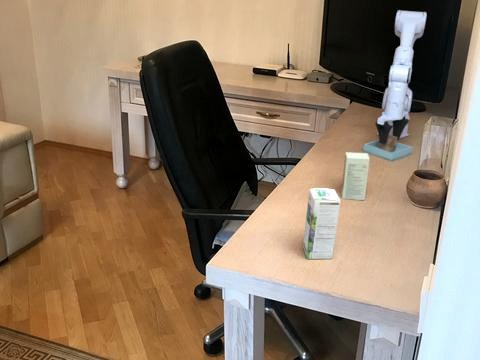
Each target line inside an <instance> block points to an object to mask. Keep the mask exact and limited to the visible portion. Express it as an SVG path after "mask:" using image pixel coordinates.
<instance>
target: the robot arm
mask: <svg viewBox="0 0 480 360" xmlns="http://www.w3.org/2000/svg"><path fill="white" fill-rule="evenodd" d="M395 15H396V16H395V20H394V21H395V22H394V34H395V35H396V36H397V37H399V39H400V40H399V41H400V45H399V46H398V47H397V48H395V52H394V56H393V62H392V65H390V69H389V74H388V86H387V87H386V88H385V90H384V94H383V98H382V104H381V108H382V110H383V112H381V116H379V117H377V121H375V125H374V126H375V127H376V130H377V133H376V134H377V135H378V140H379V143H381V144H384V145H385V144H386V142H387V139H388V135H392V136H395V137H397V141H399V140H400V139H402V138H405V137H408V136H410V134H409V133H408V130H409V129H408V128H409V123H410V114H409V113H410V112H411V105H412V99H413V90H411V89H410V87H409V83H411V76H412V72H413V67H412V66H413V58H414V53H415V51H414V49H413V47H414V43H415V41H416V40H417V39H419V38H421V37H422V36H423V35H424V32H425V31H424V30H425V28H426V27H425V26H426V21H427V17H428V16H427V12H426V11H411V10H410V11H409V10H401V9H399V10H397V12H396V14H395Z"/></svg>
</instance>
